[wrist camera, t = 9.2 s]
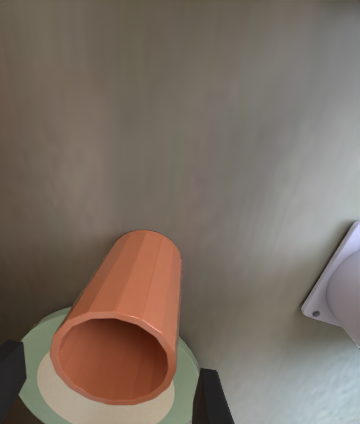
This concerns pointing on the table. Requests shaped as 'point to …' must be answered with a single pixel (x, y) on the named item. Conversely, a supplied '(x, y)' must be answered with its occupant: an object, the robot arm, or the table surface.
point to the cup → (124, 324)
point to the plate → (91, 410)
